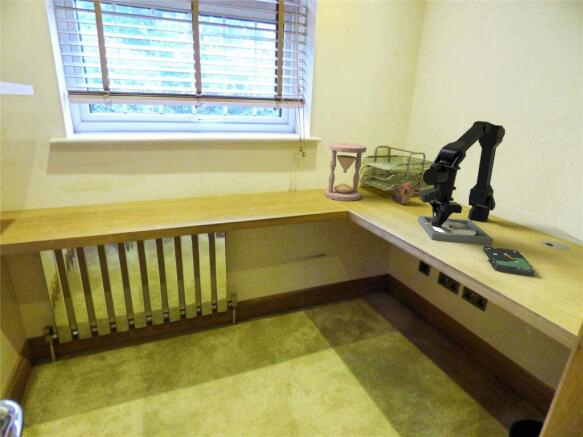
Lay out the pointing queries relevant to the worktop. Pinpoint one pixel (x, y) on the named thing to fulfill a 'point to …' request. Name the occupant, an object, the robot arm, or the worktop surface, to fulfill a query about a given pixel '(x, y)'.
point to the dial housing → (478, 239)
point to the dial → (451, 226)
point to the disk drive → (508, 261)
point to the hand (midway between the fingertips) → (437, 223)
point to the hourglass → (343, 190)
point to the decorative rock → (403, 193)
